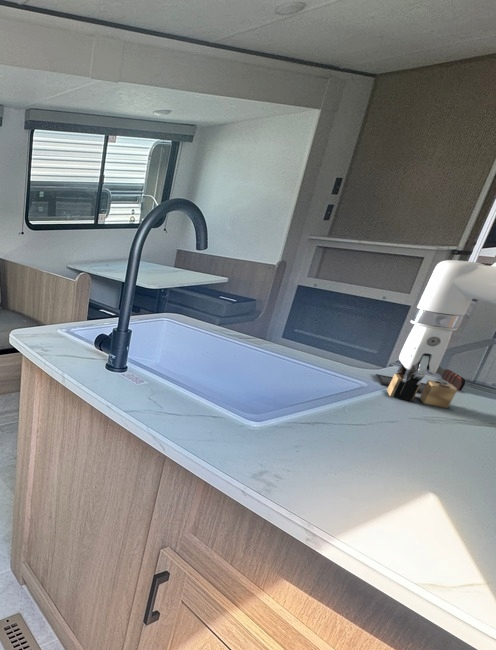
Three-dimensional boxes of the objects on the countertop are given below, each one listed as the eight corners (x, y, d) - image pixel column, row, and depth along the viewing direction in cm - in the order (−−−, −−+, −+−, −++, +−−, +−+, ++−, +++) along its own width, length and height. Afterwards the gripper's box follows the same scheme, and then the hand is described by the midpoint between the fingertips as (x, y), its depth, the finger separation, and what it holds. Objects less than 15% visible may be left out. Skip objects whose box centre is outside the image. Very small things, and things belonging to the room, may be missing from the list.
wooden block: (408, 394, 101) (417, 376, 99) (412, 400, 98) (421, 382, 96) (386, 390, 103) (395, 372, 101) (389, 396, 100) (398, 377, 98)
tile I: (442, 402, 98) (452, 383, 96) (447, 408, 95) (457, 389, 93) (419, 397, 100) (428, 378, 98) (423, 403, 97) (433, 384, 95)
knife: (421, 368, 120) (426, 358, 119) (426, 368, 119) (431, 358, 118) (457, 390, 105) (463, 379, 104) (462, 391, 105) (468, 380, 104)
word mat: (431, 386, 107) (432, 384, 107) (440, 396, 101) (441, 395, 101) (375, 375, 113) (376, 373, 112) (380, 384, 106) (381, 383, 106)
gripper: (473, 331, 85) (430, 412, 92) (448, 315, 98) (412, 387, 105) (422, 324, 88) (385, 403, 96) (405, 309, 101) (373, 380, 109)
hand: (399, 394), depth 100 cm, fingers closed on wooden block, 4 cm apart
